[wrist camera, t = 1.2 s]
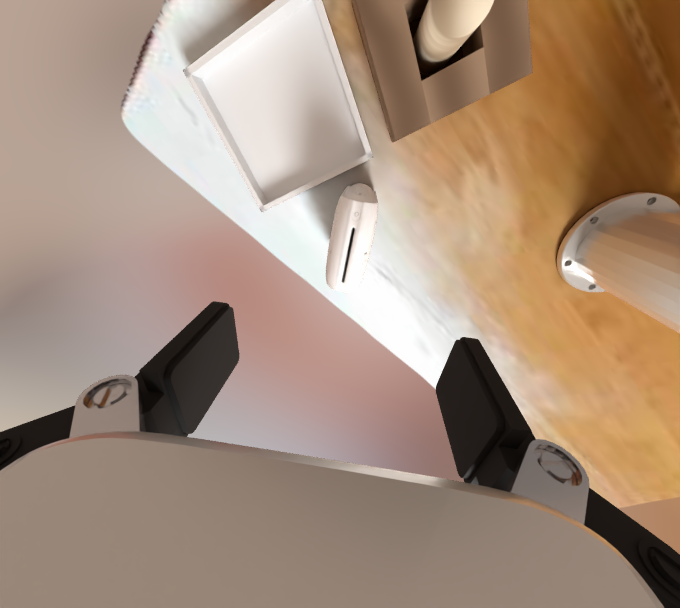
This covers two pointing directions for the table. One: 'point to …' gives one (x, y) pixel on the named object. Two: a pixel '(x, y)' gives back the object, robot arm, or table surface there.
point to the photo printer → (351, 237)
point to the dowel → (446, 30)
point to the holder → (453, 81)
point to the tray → (282, 101)
